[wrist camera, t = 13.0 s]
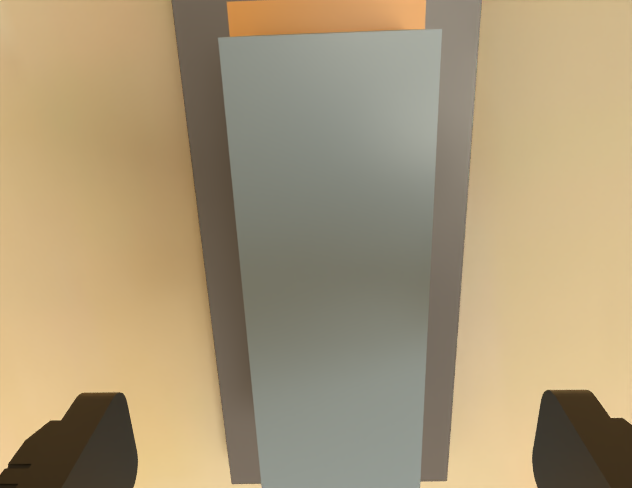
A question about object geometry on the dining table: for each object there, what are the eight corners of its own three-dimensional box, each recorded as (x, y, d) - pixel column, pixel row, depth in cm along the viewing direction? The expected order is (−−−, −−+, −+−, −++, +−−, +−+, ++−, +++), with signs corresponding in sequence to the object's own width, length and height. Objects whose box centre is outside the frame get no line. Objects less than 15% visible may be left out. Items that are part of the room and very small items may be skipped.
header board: (174, -108, 18) (111, -164, 13) (474, -122, 18) (536, -186, 12) (238, 452, 27) (217, 554, 22) (438, 449, 26) (465, 551, 21)
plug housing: (252, 35, 18) (218, 37, 12) (404, 29, 17) (441, 28, 12) (287, 509, 25) (277, 644, 20) (393, 508, 25) (412, 643, 20)
